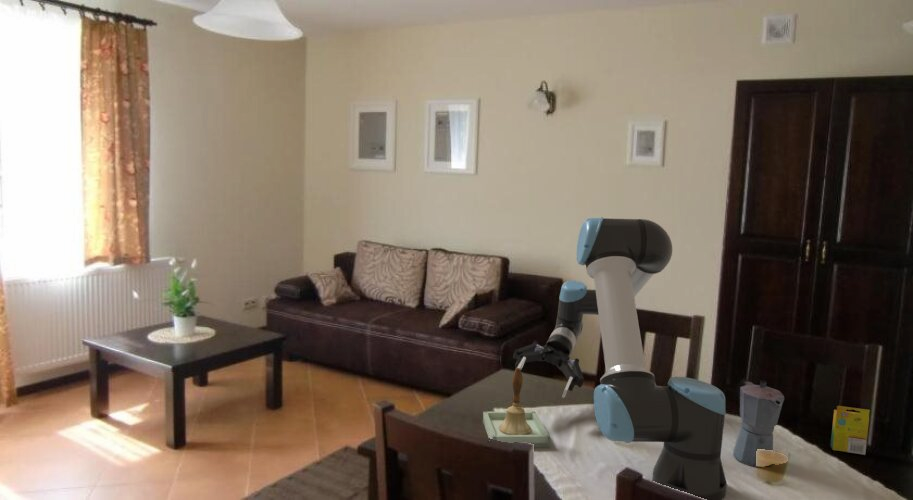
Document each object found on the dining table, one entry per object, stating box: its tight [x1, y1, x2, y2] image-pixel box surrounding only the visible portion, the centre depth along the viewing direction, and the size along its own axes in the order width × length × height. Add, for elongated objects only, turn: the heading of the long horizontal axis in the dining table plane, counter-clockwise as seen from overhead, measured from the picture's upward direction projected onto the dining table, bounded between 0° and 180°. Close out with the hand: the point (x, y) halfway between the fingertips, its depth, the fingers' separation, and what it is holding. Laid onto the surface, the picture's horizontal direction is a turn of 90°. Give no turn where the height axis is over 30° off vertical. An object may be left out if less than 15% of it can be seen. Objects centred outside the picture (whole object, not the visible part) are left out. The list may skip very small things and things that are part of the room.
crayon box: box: [830, 405, 871, 456], centre depth 161 cm, size 7×3×12 cm, turn 70°
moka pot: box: [732, 377, 785, 468], centre depth 154 cm, size 10×15×20 cm, turn 15°
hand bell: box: [499, 367, 531, 435], centre depth 163 cm, size 8×8×16 cm
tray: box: [482, 411, 550, 449], centre depth 164 cm, size 16×14×3 cm
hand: (540, 383), depth 171 cm, fingers open, 13 cm apart
